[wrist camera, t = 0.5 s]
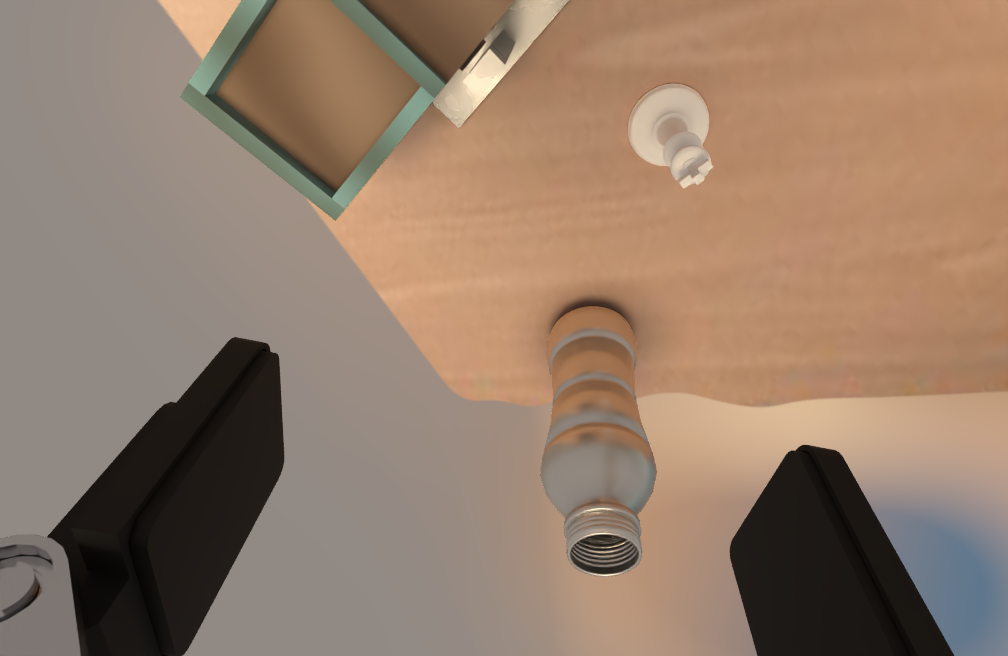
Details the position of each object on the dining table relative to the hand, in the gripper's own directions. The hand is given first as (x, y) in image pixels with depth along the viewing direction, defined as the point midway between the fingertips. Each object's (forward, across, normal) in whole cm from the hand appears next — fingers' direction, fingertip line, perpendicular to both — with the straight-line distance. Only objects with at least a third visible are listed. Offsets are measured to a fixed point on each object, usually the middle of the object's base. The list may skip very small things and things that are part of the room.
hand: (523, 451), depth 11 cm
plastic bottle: (+31, -7, +16) cm, 35 cm away
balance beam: (+23, +8, -5) cm, 25 cm away
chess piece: (+31, -8, 0) cm, 31 cm away
